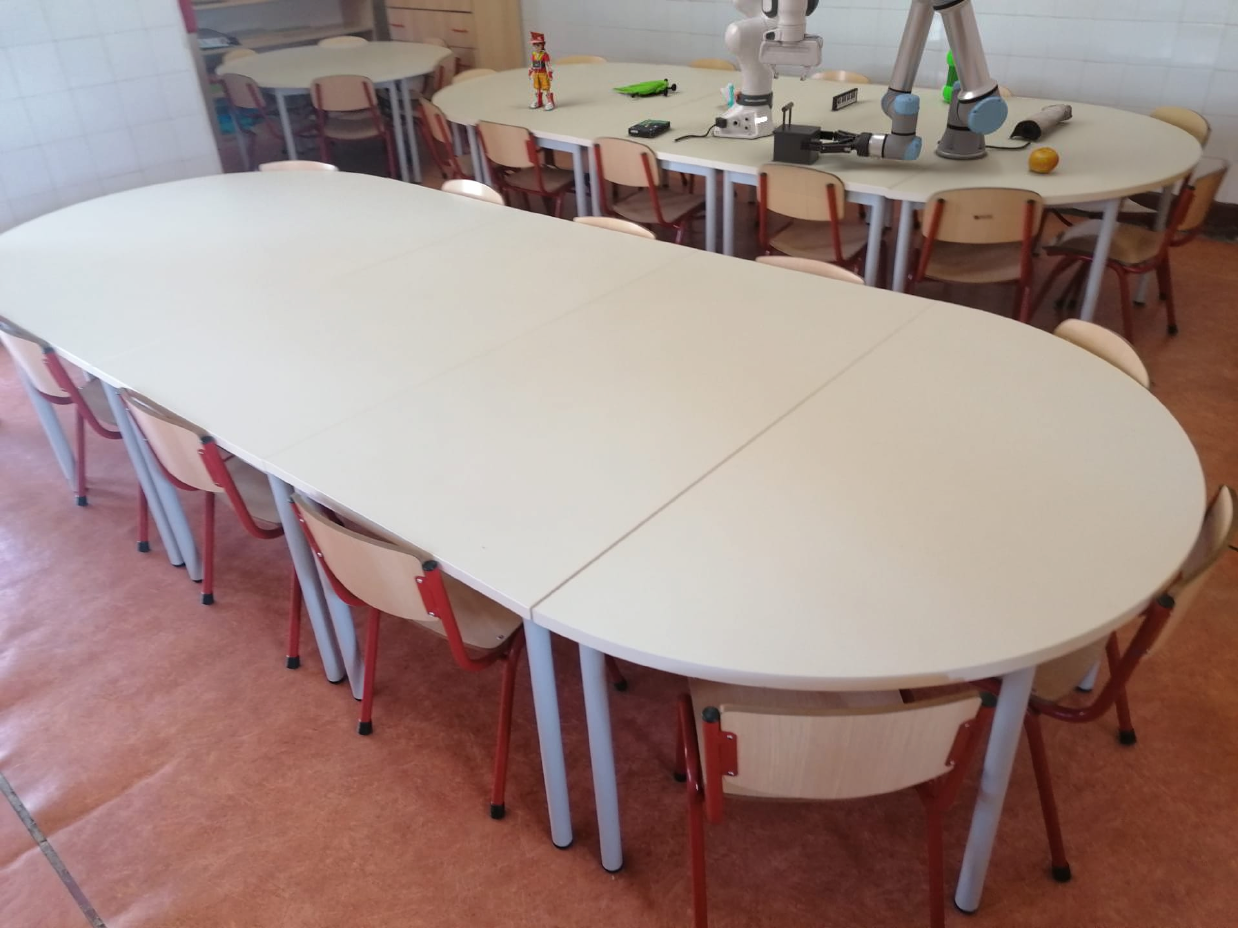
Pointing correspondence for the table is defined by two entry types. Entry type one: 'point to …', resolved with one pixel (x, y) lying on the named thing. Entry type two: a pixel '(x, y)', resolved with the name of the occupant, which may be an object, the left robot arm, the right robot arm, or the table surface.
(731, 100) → the anatomical model
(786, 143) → the chest
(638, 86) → the toy
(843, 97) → the midi keyboard
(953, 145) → the right robot arm
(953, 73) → the plastic bottle
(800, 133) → the lid
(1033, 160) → the fruit
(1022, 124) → the rolled mat
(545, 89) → the toy
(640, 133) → the disk drive
